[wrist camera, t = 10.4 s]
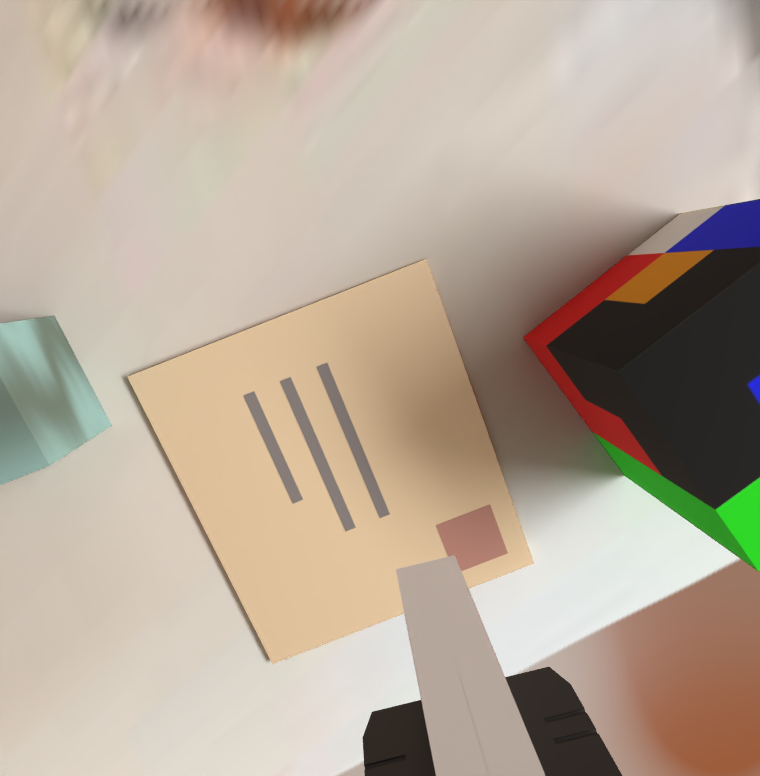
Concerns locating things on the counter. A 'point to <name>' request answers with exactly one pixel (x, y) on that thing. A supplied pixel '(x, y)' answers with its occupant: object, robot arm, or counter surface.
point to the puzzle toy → (675, 368)
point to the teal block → (42, 398)
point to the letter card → (336, 458)
